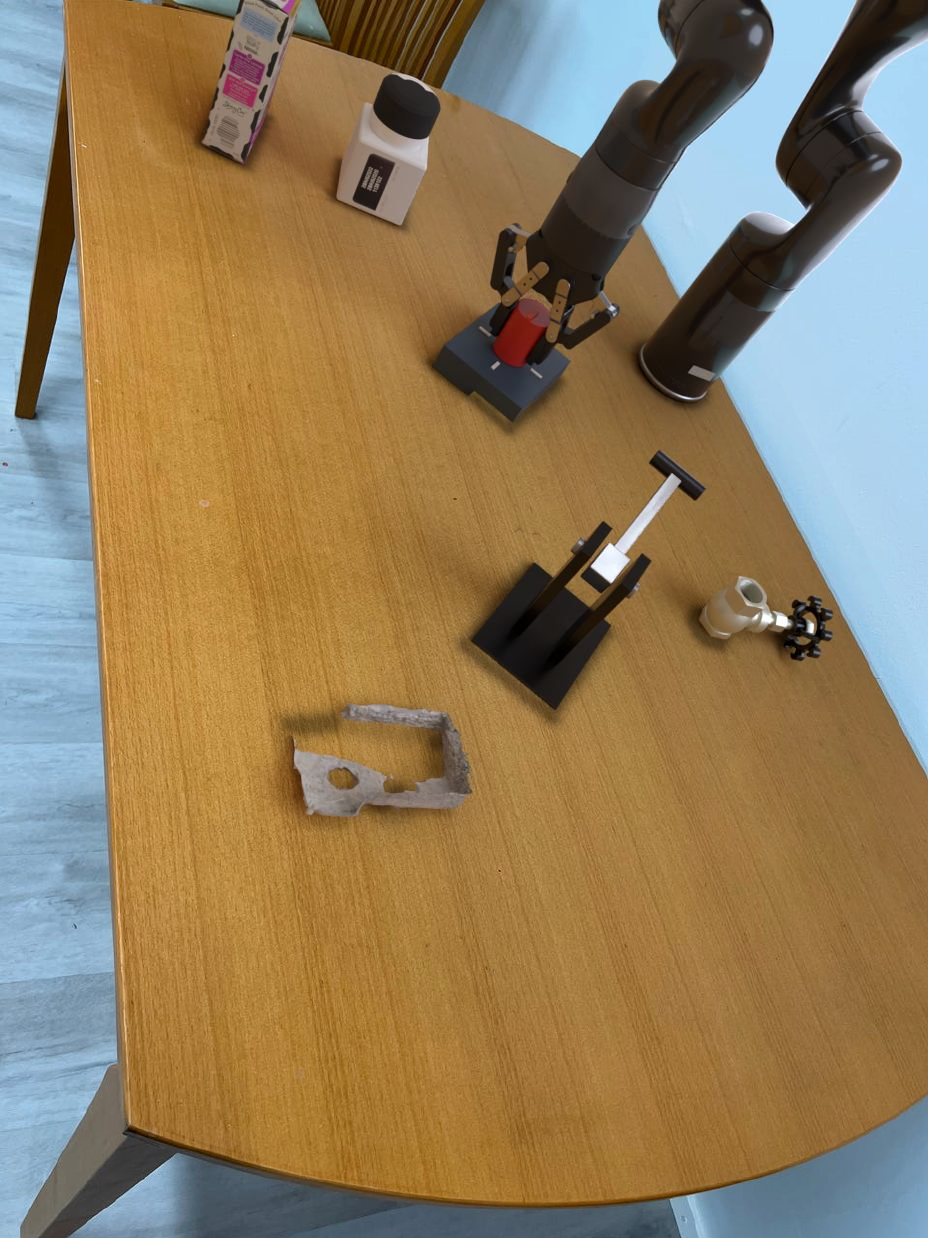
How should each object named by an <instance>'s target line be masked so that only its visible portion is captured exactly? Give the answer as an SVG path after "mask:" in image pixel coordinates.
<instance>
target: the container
mask: <svg viewBox="0 0 928 1238" xmlns="http://www.w3.org/2000/svg"><path fill="white" fill-rule="evenodd" d="M441 109H442V108H441V103H440V100H439V97H438V95H437V94H436V93H435V92H434V91H433V89H431V88H430V87H429V86H428V85H427V84H426V83H424V82H423V81H422V80H420V79H418V78H416V77H414V76H412V75H408V74H404V73H400V72H394V73H390V74H387V75H386V76H384V77H383V79H382V81H381V83H380V86H379V89H378V91H377V93H376V96H375V99H374V101H373V103H369V102H364V103H363V104H362V106H361V109H360V111H359V114H358V118H357V120H356V123H355V124H354V128H353V131H352V133H351V135H350V139H349V141H348V143H347V147H346V149H345V151H344V152H345V153H344V154H343V157H342V160H341V164H340V171H339V178H338V184H337V189H336V190H337V192H336V200H337V201H339V202H341V203H344V204H346V205H349V206H351V207H354V208H357V210H361V211H363V212H366V213H368V214H371V215H373V216H375V217H378V218H380V219H382V220H385V221H386V222H389V223H391V224H394V225H397V226H401V225H402V224H403V223H404V220H405V218H406V216H407V213H408V211H409V209H410V206H411V204H412V203H413V201H414V200H413V199H415V195H416V194H417V192H418V189H419V187H420V186H421V185H420V184H421V182H422V180H423V178H424V175H425V174H426V172H427V169H428V154H429V139H430V135H431V133H432V130H433V128H434V126H435V124H436V122H437V120H438V117H439V115H440V113H441Z"/></svg>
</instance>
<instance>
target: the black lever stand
mask: <svg viewBox="0 0 928 1238" xmlns="http://www.w3.org/2000/svg"><path fill="white" fill-rule="evenodd" d="M612 531H613V527H612V526H611V525H609V524H608V522H606V521H604V520H602V521H601V522H600V523H599V524H598V526H596V528H595V529H594V530H593V531H592V532H591V533H590V534H589V536H588V537H587V538H586V539H584V538H583V537H580V538H579V539H578V540H577V541H576V542H575V544H574V545H572V547H571V548H570V552H571V554H572V555H571V556H570V557H569V559H568V560H567V561H566V562H565V563H564V564H563V565H562V566H561V567H560V569H559V570H558V571H557V572H556V573H555V575H553V576H552V575H551V574H550V573H549V572H547V571H546V570H545V569H544V568H543V567H541V566H540V565H539V564H537V563H536V562H533V563H532V564H531V565H530V567H529V568H528V569H527V570H526V572H525V573H524V574H523V576H522V577H521V578H520V579H519V580H518V581H517V583H516V584H515V586H514V587H512V589H511V590H510V592H508V594H507V595H506V596H505V598H504V599H503V600H502V601H501V602H500V604H499V605H498V606H497V607H496V609H495V610H494V611H493V612H492V613H491V615H490V616H489V617H488V619H487V620H486V621H485V622H484V623H483V625H482V626H481V627H480V628H479V629H478V631H477V632H476V633H475V635H473V637H472V638H471V639H470V642H472V643H473V644H474V645H475V646H477V648H479V649H480V650H481V651H483V653H485V654H486V655H487V656H488V657H490V658H491V659H492V660H493V661H494V662H496V663H497V664H498V665H500V666H501V667H502V668H503V669H504V670H505V671H507V672H508V673H509V674H511V676H512V677H514V678H515V679H516V680H518V681H519V682H520V683H521V684H523V685H524V686H525V687H526V688H527V689H529V690H530V691H531V692H532V693H533V694H534V695H536V696H537V697H539V699H541V700H542V701H543V702H544V703H546V704H547V705H548V706H549V707H550V708H552V709H553V710H554V711H556V710H558V708H559V706H560V704H561V703H562V701H563V700H564V698H565V697H566V696H567V694H568V693H569V691H570V689H571V688H572V686H573V685H574V683H575V682H576V680H577V678H579V676H580V674H581V673H582V671H583V669H584V668H585V667H586V665H587V663H588V662H589V660H590V659H591V658H592V656H593V655H594V653H595V651H596V650H597V648H598V647H599V645H600V644H601V643H602V641H603V639H604V638H605V636H606V634H607V633H608V632H609V630H610V629H611V627H612V624H611V623H610V622H608V621H607V620H606V619H605V618H607V617H608V616H609V615H610V614H611V613H612V612H613V611H614V610H615V609H616V608H617V607H618V606H619V604H621V603H622V602H623V601H624V600H625V599H626V598H627V599H628V600H629V599H631V598H632V597H633V596H634V595H635V594H636V592H637V591H638V590H639V589H640V588H641V585H640V584H639V581H640V580H641V578H642V577H643V575H644V574H645V572H646V571H647V569H648V568H649V567H650V565H651V564H652V559H650V558H649V557H648V556H647V555H645V553H643V552H642V553H641V554H640V555H638V557H636V559H634V560H633V562H632V563H630V565H629V566H628V567H627V568H626V569H624V570H623V571H622V572H621V573H620V574H619V576H618V577H617V578H616V580H615V581H614V582H613V584H612V585H611V586H609V587H608V588H607V589H606V590H605V591H604V592H603V593H601V594H600V595H599V597H597V599H596V600H595V601H594V602H593V603H592V604H591V605H590V606H589V605H588V604H587V603H585V602H584V601H583V600H581V599H580V598H579V597H578V596H577V595H575V594H574V593H573V592H572V591H570V590H569V588H567V587H566V586H567V585H568V584H569V583H570V582H571V581H572V580H573V578H574V577H575V576H576V575H577V574H578V573H579V572H580V571H581V569H583V567H585V565H586V564H587V563H588V562H589V561H590V560H591V559H592V558H593V556H594V554H595V553H596V552H597V550H599V548H600V547H601V545H602V544H603V543H604V541H605V540H606V538H607V537H608V536H609V535H610V533H611V532H612Z"/></svg>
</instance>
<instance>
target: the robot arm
mask: <svg viewBox="0 0 928 1238" xmlns="http://www.w3.org/2000/svg"><path fill="white" fill-rule="evenodd" d="M657 24H658V28H659V32H660V34H661V37H662V38H663V40H664V42H665V44H666V46H667V47H668V50H669V51H670V52H671V54H672V57H673V58H674V60H675V62H674V65H673V67H672V68H671V70H670V72H669V73H668V74H667V76H666V77H665V78H664V79H663V80H662V81H661V82H659V81H657V80H652V79H641V80H640V79H639V80H636V81H634V82H632V83H631V84H630V85H629V86H628V87H627V88H626V89H625V91H624V92H622V94H621V96H620V97H619V99H618V100H617V102H616V103H615V105H614V107H613V108H612V110H611V112H610V114H609V116H608V117H607V119H606V121H605V122H604V124H603V125H602V127H601V129H600V131H599V132H598V134H597V135H596V138H595V139H594V140H593V142H592V144H591V145H590V146H589V147H588V149H587V150H586V151H585V153H584V154H583V155H582V156H581V158H580V160H578V162H577V164H576V166H575V167H574V168H573V170H572V171H571V172H570V174H569V175H568V176H567V179H566V182H565V184H564V186H563V188H562V189H561V191H560V193H559V195H558V196H557V198H556V200H555V202H554V203H553V205H552V207H551V208H550V210H549V212H548V213H547V215H546V217H545V219H544V220H543V222H542V223H541V226H540V227H539V229H537V230H536V231H534V232H533V233H531V232H528V231H525V230H523V229H522V226H521V225H520V223H518V222H513V223H511V224H510V225H508V226H506V227H505V228H504V229H503V230H501V231H500V232H499V234H498V238H497V244H496V249H495V255H494V260H493V264H492V270H491V276H490V281H489V285H490V288H491V289H492V290H494V291H496V292H497V293H498V294H499V296H500V302H499V303H500V304H499V306H498V308H497V309H496V311H495V313H494V314H493V316H492V318H491V320H490V324H489V326H490V327H492V330H491V331H490V333H491V334H492V335H493V336H494V337H497V336H498V335H499V333H500V331H501V330H502V328H503V326H504V325H505V323H506V321H507V320H508V318H509V316H510V315H511V313H512V311H513V310H514V308H515V306H516V305H517V303H518V301H519V300H521V299H522V297H523V296H524V295H525V294H527V293H528V292H529V291H531V290H533V291H535V293H537V294H539V295H542V296H543V297H544V298H545V300H546V301H547V302H548V303H549V304H550V305H551V309H550V315H549V319H550V321H549V324H548V328H547V331H546V333H545V334H544V335H543V336H542V337H541V339H540V340H539V342H538V343H537V345H536V346H535V348H534V349H533V351H532V353H531V354H530V356H529V357H528V359H527V360H526V363H527V364H528V365H530V366H532V365H533V364H534V363H536V364H537V365H539V364H541V363H542V362H543V361H544V360H545V359H546V358H548V356H549V355H550V353H551V352H552V350H553V349H554V348H556V346H557V344H559V345H562V346H563V347H564V348H565V349H566V350H572V349H574V348H575V347H577V346H578V345H579V344H581V343H582V342H584V341H585V340H587V339H589V338H590V337H591V336H593V335H594V334H596V333H597V332H598V331H600V330H602V329H603V328H604V327H606V326H608V325H609V324H610V322H612V321H613V320H614V319H615V318H617V316H618V315H619V314H620V312H621V308H620V306H619V304H618V303H616V302H610V300H609V299H608V297H607V296H606V294H605V293H604V291H603V290H604V289H605V283H606V281H605V280H606V278H607V275H608V274H609V272H611V269H612V268H613V267H614V264H615V263H616V262H617V261H618V259H619V258H620V256H621V255H622V253H623V251H624V250H625V249H626V246H627V245H628V244H629V243H630V241H631V240H632V238H633V236H634V235H635V234H636V232H637V231H638V230H639V228H640V226H641V225H642V223H643V222H644V220H645V219H646V218H647V216H648V215H649V213H650V211H651V209H652V208H653V206H654V204H655V202H656V200H657V198H658V196H659V194H660V192H661V190H662V188H663V187H664V186H665V184H666V183H667V181H668V180H669V178H670V177H671V176H672V174H673V172H674V170H675V169H676V167H677V166H678V164H680V161H681V160H682V158H683V157H684V156H685V154H686V152H687V150H688V149H689V148H690V146H691V145H692V144H693V143H695V142H696V141H697V140H698V139H699V138H700V137H701V136H703V135H704V134H705V133H706V132H707V131H709V130H710V129H711V128H712V127H713V126H714V125H715V124H716V123H717V122H718V121H719V120H720V119H721V118H722V117H723V116H725V114H727V112H729V111H730V110H731V109H732V108H733V107H734V106H735V105H736V104H737V103H739V102H740V100H741V99H743V98H744V97H745V96H746V95H747V94H748V93H749V91H751V89H752V88H753V87H754V86H755V85H756V83H757V82H758V80H759V79H760V77H761V76H762V74H763V72H764V70H765V69H766V66H767V64H768V63H769V59H770V58H771V54H772V51H773V47H774V43H775V25H774V21H773V18H772V16H771V13H770V11H769V9H768V8H767V6H766V5H765V3H764V2H763V1H762V0H659V3H658V7H657ZM926 42H928V0H855V1H854V3H853V5H852V8H851V10H850V12H849V13H848V16H847V18H846V20H845V22H844V23H843V25H842V28H841V30H840V32H839V34H838V35H837V38H836V40H835V41H834V43H833V45H832V47H831V49H830V51H829V52H828V55H827V56H826V58H825V60H824V62H823V63H822V65H821V67H820V69H819V70H818V72H817V74H816V76H815V77H814V79H813V81H812V82H811V84H810V86H809V88H808V90H807V91H806V93H805V95H804V96H803V98H802V100H801V101H800V103H799V104H798V106H797V108H796V110H795V112H794V114H792V117H791V118H790V120H789V122H788V124H787V126H786V128H785V130H784V131H783V134H782V136H781V138H780V141H779V143H778V145H777V148H776V152H775V156H774V169H775V172H776V174H777V177H778V178H779V180H780V182H781V183H782V184H783V185H784V186H785V187H786V189H787V190H788V191H789V192H790V193H791V195H792V196H793V197H794V198H795V199H796V201H797V202H798V203H799V204H800V205H801V206H802V208H803V209H804V210H805V211H806V212H805V214H804V215H802V217H801V218H800V219H799V220H798V221H797V222H795V224H794V223H792V222H791V221H788V220H786V219H784V218H782V217H780V216H777V215H775V214H773V213H771V212H770V213H769V212H765V211H758V210H757V211H750V212H748V213H746V214H745V215H744V216H743V217H741V218H740V219H739V221H737V223H736V224H735V226H734V227H733V228H732V230H731V231H730V232H729V234H728V235H727V236H726V238H725V239H724V241H723V242H722V243H721V244H720V246H719V247H718V248H717V249H716V251H715V252H714V254H713V255H712V256H711V258H710V259H709V261H707V263H706V264H705V265H704V267H703V268H702V269H701V271H700V272H699V273H698V275H697V276H696V277H695V279H694V280H693V281H692V283H691V284H690V286H689V287H688V288H687V289H686V291H685V292H684V293H683V295H682V296H681V297H680V298H679V300H678V301H677V302H676V304H675V305H674V306H673V308H672V309H671V310H670V312H669V313H668V314H667V315H666V317H665V318H664V319H663V321H662V322H660V323H661V324H659V326H658V327H657V328H656V330H655V331H654V333H653V334H652V335H651V336H650V338H649V339H648V340H647V341H646V342H645V343H644V344H643V345H642V347H641V348H640V349H639V352H638V357H637V358H638V364H639V366H640V368H641V371H642V372H643V374H644V375H645V377H646V378H647V380H648V381H649V382H650V383H651V384H652V385H653V386H654V387H656V389H658V390H659V391H660V392H662V393H663V394H664V395H666V396H668V397H670V398H671V399H674V400H677V401H678V402H679V401H680V402H683V403H687V404H688V403H690V404H692V403H697V402H699V401H701V400H702V399H703V398H704V396H706V394H707V392H708V390H709V389H711V387H712V386H713V385H714V383H715V382H716V381H717V380H718V379H719V378H720V377H721V376H722V375H723V374H724V372H725V371H726V370H727V369H728V368H729V367H730V366H731V364H732V363H733V362H734V361H735V359H736V358H737V357H739V355H740V354H741V353H742V352H743V350H745V348H746V347H747V346H748V345H749V344H750V342H751V341H752V340H753V339H754V338H755V337H756V335H757V334H759V332H760V331H761V330H762V328H763V327H764V326H766V324H767V323H768V322H769V320H770V319H771V318H772V317H773V316H774V315H775V314H776V313H777V311H778V310H779V309H780V308H781V307H782V305H783V304H784V303H785V302H786V301H787V300H788V298H789V297H790V296H791V295H792V294H793V292H795V290H797V288H798V287H799V286H800V285H801V284H802V282H803V281H804V280H805V279H806V278H807V277H808V276H809V275H810V274H811V273H812V272H814V271H815V270H816V269H817V268H818V267H819V266H821V265H822V264H823V263H824V261H826V260H827V259H828V258H829V257H830V256H831V255H832V253H834V251H835V250H836V249H837V248H838V247H839V246H840V244H841V243H843V241H844V240H845V239H846V238H847V237H848V236H849V235H850V234H851V233H852V232H853V231H854V230H855V229H856V228H857V227H858V226H859V225H860V224H862V223H861V222H863V221H864V220H865V219H866V218H867V217H868V216H869V214H871V213H872V212H873V210H874V209H875V208H876V207H877V206H878V205H879V204H880V203H881V202H882V201H883V200H884V198H885V197H886V196H887V195H888V194H889V192H890V191H891V190H892V188H893V187H894V186H895V184H896V182H897V180H898V179H899V177H900V174H901V173H902V170H903V166H904V157H903V155H902V153H901V151H900V150H899V149H898V147H897V146H896V145H895V144H894V142H893V141H891V139H890V138H889V137H888V136H887V135H886V133H884V132H883V131H882V129H881V128H880V127H879V126H878V125H877V124H876V123H875V121H873V120H872V118H870V116H868V114H867V113H866V112H865V111H864V102H865V99H866V96H867V94H868V92H869V90H870V88H871V86H872V84H873V83H874V82H875V80H876V79H877V77H878V76H879V74H880V73H881V71H882V70H883V69H884V68H885V67H886V66H887V65H888V64H890V63H891V62H893V61H894V60H896V59H897V58H899V57H900V56H902V55H903V54H905V53H907V52H909V51H911V50H912V49H914V48H916V47H919V46H920V45H922V44H925V43H926ZM524 247H525V256H526V269H527V273H526V274H525V275H523V277H522V278H520V279H519V280H518V281H517V282H516V283H515V282H514V280H513V274H514V270H515V265H516V262H517V261H516V259H517V255H518V253H519V252H521V251H522V250H523V249H524ZM589 301H592V307H591V308H590V310H589V311H588V315H589V318H588V319H587V320H586V321H584V322H583V323H582V324H580V325H578V326H577V327H576V328H571V327H569V323H570V320H571V316H572V315H573V313H574V311H575V309H576V305H580V304H582V303H587V302H589Z"/></svg>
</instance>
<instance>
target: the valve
mask: <svg viewBox="0 0 928 1238" xmlns="http://www.w3.org/2000/svg"><path fill="white" fill-rule="evenodd" d="M767 600H768V596H767V594H766V591H765V590H764V588H763V586H762V585H761V584H759V583H758V581H756V580H755V579H753V578H750V577H747V576H741V575H740V576H737V577H736V578H735V579H734V580H732V581H731V583H729V584H728V587H727V588H724V589H721V590H718V591H717V592H716V593H715V594H713V595H712V596H711V598H709V601H708V603H707V604H706V605H704V606H703V608H702V610H701V612H700V616H699V618H698V621H699V623H700V624H701V625H702V627H703V628H704V629H705V631H706V633H707V634H708V635H709V637H712V638H716V639H721V640H728V639H729V638H730V637H731V636H732V634H736V633H737V632H738V633H739V632H740V631H742V630H743V629H745V630H746V631H747V632H751V633H756V634H759V633H761V632H764V631H765V630H766V629H768V630H769V631H771V632H777V633H781V636H782V639H783V640H784V643H783V644H782V648H785V649H789V650H790V649H791V650H792V649H793V648H794V649H795V651H794V652H790V653H789V657H790V659H791V660H793V661H798V662H803V661H804V660H805V658H806V657H807V658H811V659H819V658H820V656H821V655H822V650H821V648H820V647H819V644H820V643H821V642H822V641H824V642H830V641H832V639H833V637H834V633H833V631H832V630H831V629H827V628H826V622H828V621H830V620H832V619H833V617H834V611H833V610H832V609H831V608H828V607H822V604H823V599H822V598H821V597H820V596H815V595H809V596H808V598H807V599H806V600H801V599H794V600H793V601H792V603H791V609H793V611H792V614H790V615H788V616H786V614H784V613H782V612H779V611H775V610H771V609H770V607H769V605H768V604H767ZM806 601H807V602H809V605H807V602H806ZM808 614H812V615H813V616H814V618H815V621H816V628H815V624H814V623H813V621H811V620H810V619H807V618H805V617H804V616H805V615H808ZM815 629H816V630H815ZM814 630H815V633H814ZM798 638H805V639H806V640H810V641H809V642H807V643H805V644H802V643H801V642H800V641H799V639H798Z"/></svg>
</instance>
